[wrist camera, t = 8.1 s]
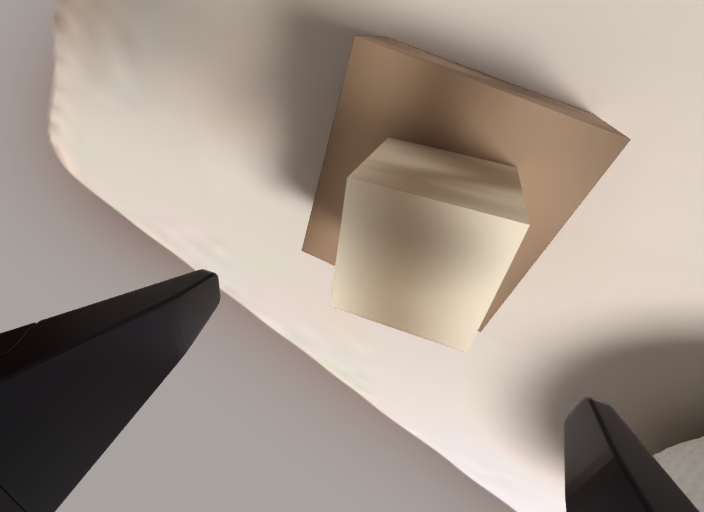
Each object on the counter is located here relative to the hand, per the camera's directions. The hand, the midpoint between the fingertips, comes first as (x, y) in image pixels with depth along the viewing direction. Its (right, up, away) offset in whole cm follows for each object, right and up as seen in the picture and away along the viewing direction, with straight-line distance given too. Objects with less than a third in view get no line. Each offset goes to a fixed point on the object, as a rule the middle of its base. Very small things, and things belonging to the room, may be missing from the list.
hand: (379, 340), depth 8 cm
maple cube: (+3, +4, +6) cm, 8 cm away
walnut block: (+4, +7, +10) cm, 13 cm away
